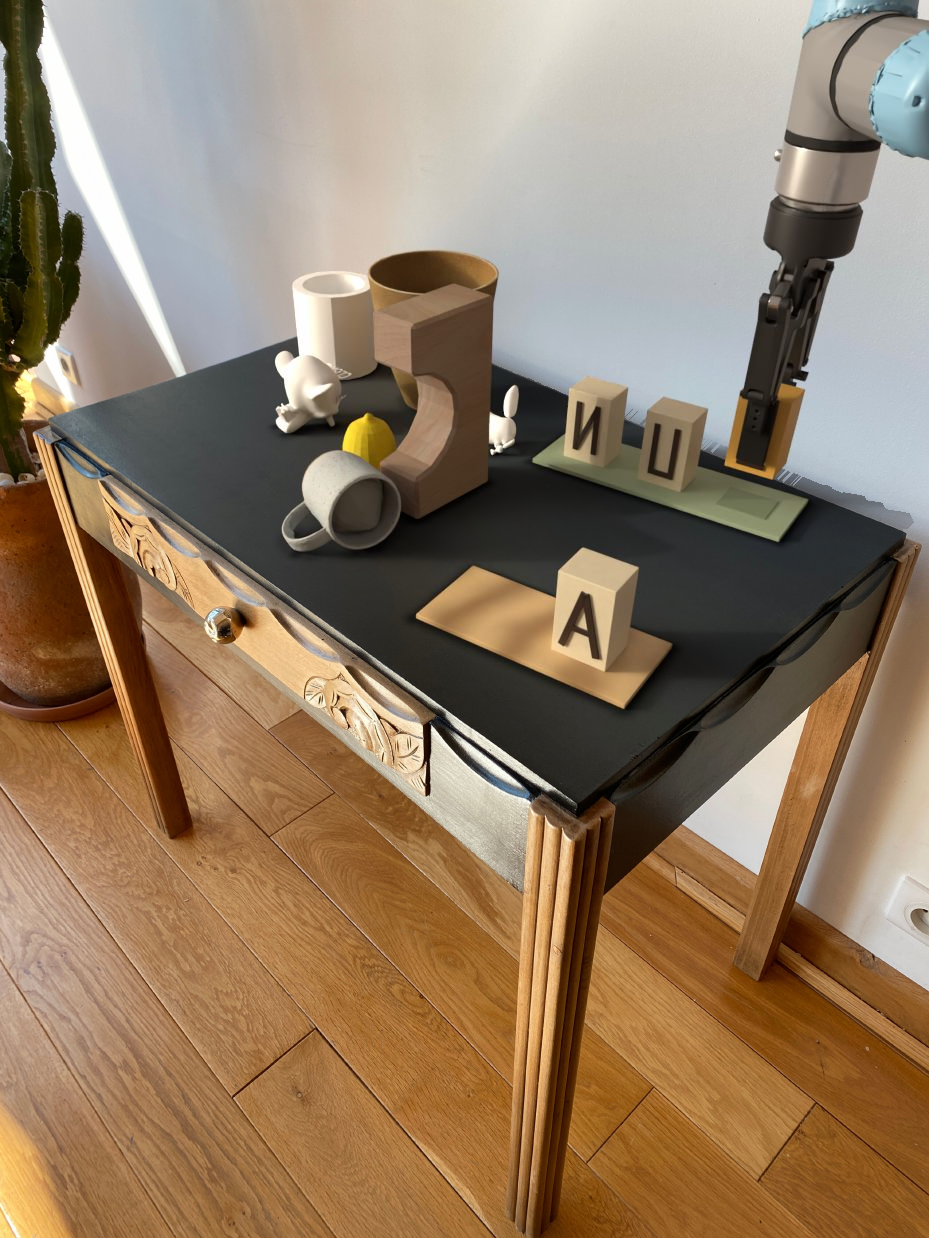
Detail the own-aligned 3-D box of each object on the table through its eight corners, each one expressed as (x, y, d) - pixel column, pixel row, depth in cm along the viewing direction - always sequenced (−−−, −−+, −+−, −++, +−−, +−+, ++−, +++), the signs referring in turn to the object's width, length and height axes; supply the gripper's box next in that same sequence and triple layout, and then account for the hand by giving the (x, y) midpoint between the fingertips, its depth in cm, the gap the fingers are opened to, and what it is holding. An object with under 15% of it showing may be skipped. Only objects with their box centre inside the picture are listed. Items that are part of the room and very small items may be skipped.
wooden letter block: (620, 454, 103) (628, 387, 98) (602, 469, 100) (610, 400, 95) (580, 442, 105) (587, 375, 100) (562, 456, 103) (568, 388, 98)
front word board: (671, 648, 77) (672, 643, 77) (624, 709, 72) (625, 704, 71) (473, 569, 86) (473, 565, 86) (416, 618, 80) (415, 614, 80)
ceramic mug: (365, 500, 96) (360, 432, 91) (404, 537, 90) (400, 467, 85) (270, 530, 91) (259, 461, 86) (304, 571, 86) (295, 499, 81)
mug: (326, 337, 130) (320, 260, 124) (395, 345, 128) (392, 267, 122) (288, 375, 120) (278, 292, 114) (362, 384, 118) (357, 301, 112)
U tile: (695, 477, 99) (708, 408, 94) (679, 493, 97) (692, 423, 92) (652, 464, 101) (663, 396, 97) (636, 479, 99) (646, 410, 94)
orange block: (786, 463, 93) (805, 389, 88) (772, 480, 90) (791, 404, 85) (738, 450, 95) (754, 376, 90) (723, 466, 92) (739, 391, 87)
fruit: (371, 463, 102) (367, 395, 97) (408, 479, 99) (406, 410, 94) (334, 482, 98) (328, 413, 94) (372, 499, 96) (368, 429, 91)
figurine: (312, 465, 105) (382, 417, 107) (282, 406, 99) (357, 357, 101) (266, 425, 113) (333, 381, 115) (236, 368, 107) (306, 323, 109)
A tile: (627, 646, 77) (639, 567, 72) (603, 673, 74) (615, 593, 69) (574, 624, 79) (582, 546, 74) (549, 650, 76) (556, 571, 71)
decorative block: (416, 522, 92) (412, 326, 80) (378, 501, 95) (368, 309, 83) (491, 483, 99) (498, 296, 86) (453, 465, 102) (454, 281, 89)
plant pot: (358, 386, 118) (350, 257, 108) (466, 369, 122) (468, 244, 112) (397, 437, 107) (392, 299, 97) (513, 416, 111) (520, 282, 102)
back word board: (807, 503, 96) (808, 498, 96) (778, 542, 90) (780, 537, 90) (571, 432, 108) (571, 427, 108) (532, 462, 102) (532, 457, 102)
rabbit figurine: (471, 456, 103) (466, 399, 107) (489, 472, 106) (484, 415, 110) (516, 436, 101) (510, 378, 104) (534, 452, 104) (528, 395, 107)
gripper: (806, 173, 84) (753, 409, 99) (737, 215, 73) (688, 475, 87) (890, 185, 81) (822, 428, 96) (832, 231, 70) (765, 499, 84)
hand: (759, 450), depth 92 cm, fingers closed on orange block, 4 cm apart
